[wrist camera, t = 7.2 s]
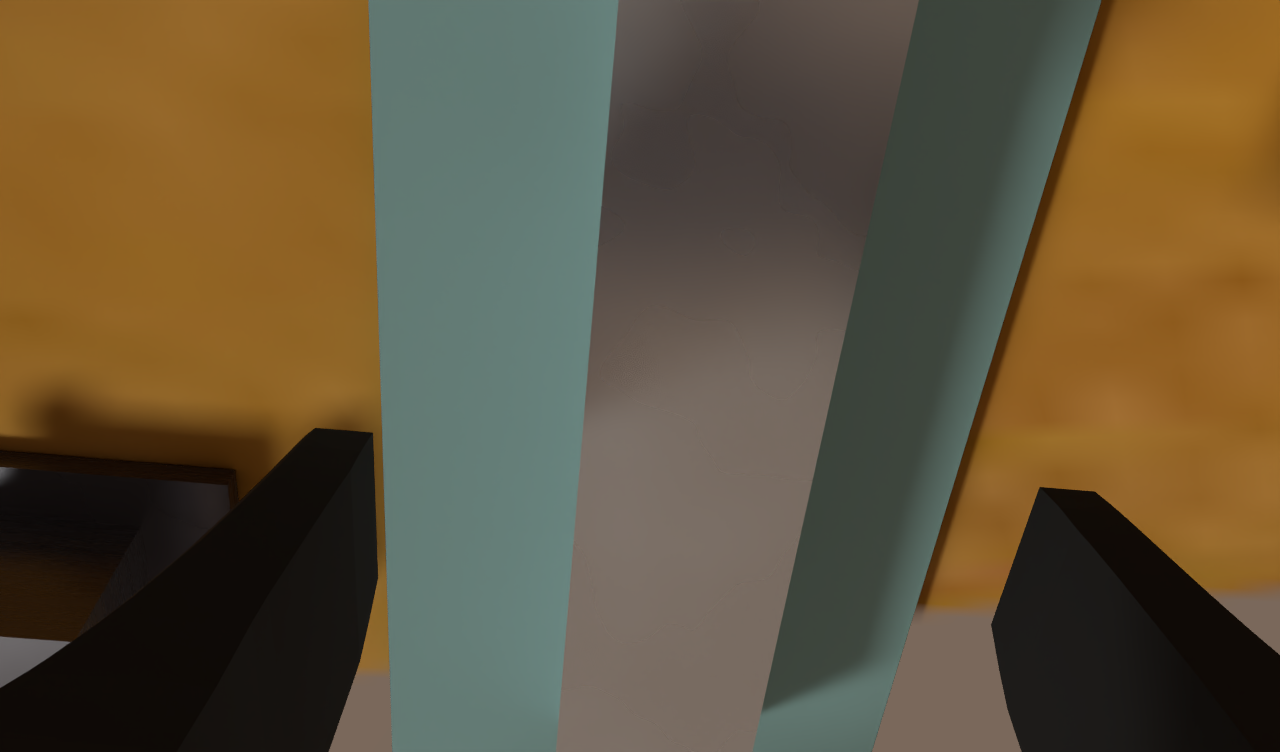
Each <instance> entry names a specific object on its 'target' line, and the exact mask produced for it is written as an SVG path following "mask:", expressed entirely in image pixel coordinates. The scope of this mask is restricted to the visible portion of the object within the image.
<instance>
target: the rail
mask: <svg viewBox="0 0 1280 752" xmlns="http://www.w3.org/2000/svg"><path fill="white" fill-rule="evenodd" d="M918 2H919V0H619V1H618V13H617V25H616V37H615V49H614V61H613V73H612V85H611V97H610V109H609V121H608V133H607V145H606V157H605V169H604V181H603V193H602V205H601V217H600V229H599V241H598V253H597V265H596V277H595V289H594V301H593V313H592V325H591V337H590V349H589V361H588V373H587V385H586V397H585V409H584V421H583V433H582V445H581V457H580V469H579V481H578V493H577V505H576V517H575V529H574V541H573V553H572V565H571V577H570V589H569V601H568V613H567V625H566V637H565V649H564V661H563V673H562V685H561V697H560V709H559V721H558V733H557V745H556V752H752V751H753V747H754V742H755V738H756V733H757V729H758V724H759V720H760V715H761V711H762V706H763V702H764V697H765V693H766V688H767V684H768V679H769V675H770V670H771V666H772V661H773V657H774V652H775V647H776V643H777V638H778V634H779V629H780V625H781V620H782V616H783V611H784V607H785V602H786V598H787V593H788V589H789V584H790V580H791V575H792V571H793V566H794V562H795V557H796V553H797V548H798V544H799V539H800V535H801V530H802V526H803V521H804V517H805V512H806V508H807V503H808V499H809V494H810V490H811V485H812V481H813V476H814V471H815V467H816V462H817V458H818V453H819V449H820V444H821V440H822V435H823V431H824V426H825V422H826V417H827V413H828V408H829V404H830V399H831V395H832V390H833V386H834V381H835V377H836V372H837V368H838V363H839V359H840V354H841V350H842V345H843V341H844V336H845V332H846V327H847V323H848V318H849V314H850V309H851V305H852V300H853V295H854V291H855V286H856V282H857V277H858V273H859V268H860V264H861V259H862V255H863V250H864V246H865V241H866V237H867V232H868V228H869V223H870V219H871V214H872V210H873V205H874V201H875V196H876V192H877V187H878V183H879V178H880V174H881V169H882V165H883V160H884V156H885V151H886V147H887V142H888V138H889V133H890V129H891V124H892V119H893V115H894V110H895V106H896V101H897V97H898V92H899V88H900V83H901V79H902V74H903V70H904V65H905V61H906V56H907V52H908V47H909V43H910V38H911V34H912V29H913V25H914V20H915V16H916V11H917V7H918Z"/></svg>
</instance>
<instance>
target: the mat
mask: <svg viewBox="0 0 1280 752" xmlns="http://www.w3.org/2000/svg"><path fill="white" fill-rule="evenodd" d="M618 1H619V0H369V30H370V62H371V93H372V125H373V156H374V188H375V219H376V251H377V282H378V314H379V345H380V377H381V408H382V440H383V471H384V503H385V534H386V566H387V597H388V629H389V660H390V691H391V722H392V752H556V745H557V733H558V721H559V709H560V697H561V685H562V673H563V661H564V649H565V637H566V625H567V613H568V601H569V589H570V577H571V565H572V553H573V541H574V529H575V517H576V505H577V493H578V481H579V469H580V457H581V445H582V433H583V421H584V409H585V397H586V385H587V373H588V361H589V349H590V337H591V325H592V313H593V301H594V289H595V277H596V265H597V253H598V241H599V229H600V217H601V205H602V193H603V181H604V169H605V157H606V145H607V133H608V121H609V109H610V97H611V85H612V73H613V61H614V49H615V37H616V25H617V13H618ZM1100 4H1101V0H919V2H918V7H917V11H916V16H915V20H914V25H913V29H912V34H911V38H910V43H909V47H908V52H907V56H906V61H905V65H904V70H903V74H902V79H901V83H900V88H899V92H898V97H897V101H896V106H895V110H894V115H893V119H892V124H891V129H890V133H889V138H888V142H887V147H886V151H885V156H884V160H883V165H882V169H881V174H880V178H879V183H878V187H877V192H876V196H875V201H874V205H873V210H872V214H871V219H870V223H869V228H868V232H867V237H866V241H865V246H864V250H863V255H862V259H861V264H860V268H859V273H858V277H857V282H856V286H855V291H854V295H853V300H852V305H851V309H850V314H849V318H848V323H847V327H846V332H845V336H844V341H843V345H842V350H841V354H840V359H839V363H838V368H837V372H836V377H835V381H834V386H833V390H832V395H831V399H830V404H829V408H828V413H827V417H826V422H825V426H824V431H823V435H822V440H821V444H820V449H819V453H818V458H817V462H816V467H815V471H814V476H813V481H812V485H811V490H810V494H809V499H808V503H807V508H806V512H805V517H804V521H803V526H802V530H801V535H800V539H799V544H798V548H797V553H796V557H795V562H794V566H793V571H792V575H791V580H790V584H789V589H788V593H787V598H786V602H785V607H784V611H783V616H782V620H781V625H780V629H779V634H778V638H777V643H776V647H775V652H774V657H773V661H772V666H771V670H770V675H769V679H768V684H767V688H766V693H765V697H764V702H763V706H762V711H761V715H760V720H759V724H758V729H757V733H756V738H755V742H754V747H753V751H752V752H872V749H873V746H874V743H875V740H876V736H877V733H878V730H879V726H880V723H881V720H882V717H883V713H884V710H885V706H886V703H887V700H888V697H889V694H890V690H891V687H892V684H893V681H894V677H895V674H896V671H897V667H898V664H899V661H900V658H901V655H902V651H903V648H904V645H905V641H906V638H907V635H908V631H909V628H910V625H911V622H912V619H913V615H914V612H915V609H916V605H917V602H918V599H919V596H920V592H921V589H922V586H923V583H924V579H925V576H926V573H927V570H928V566H929V563H930V560H931V556H932V553H933V550H934V547H935V543H936V540H937V537H938V534H939V530H940V527H941V524H942V520H943V517H944V514H945V511H946V507H947V504H948V501H949V498H950V494H951V491H952V488H953V484H954V481H955V478H956V475H957V471H958V468H959V465H960V462H961V458H962V455H963V452H964V449H965V445H966V442H967V439H968V435H969V432H970V429H971V426H972V422H973V419H974V416H975V413H976V409H977V406H978V403H979V399H980V396H981V393H982V390H983V386H984V383H985V380H986V377H987V373H988V370H989V367H990V363H991V360H992V357H993V354H994V350H995V347H996V344H997V341H998V337H999V334H1000V331H1001V327H1002V324H1003V321H1004V318H1005V314H1006V311H1007V308H1008V305H1009V301H1010V298H1011V295H1012V292H1013V288H1014V285H1015V282H1016V278H1017V275H1018V272H1019V269H1020V265H1021V262H1022V259H1023V256H1024V252H1025V249H1026V246H1027V242H1028V239H1029V236H1030V233H1031V229H1032V226H1033V223H1034V220H1035V216H1036V213H1037V210H1038V206H1039V203H1040V200H1041V197H1042V193H1043V190H1044V187H1045V184H1046V180H1047V177H1048V174H1049V171H1050V167H1051V164H1052V161H1053V157H1054V154H1055V151H1056V148H1057V144H1058V141H1059V138H1060V135H1061V131H1062V128H1063V125H1064V121H1065V118H1066V115H1067V112H1068V108H1069V105H1070V102H1071V99H1072V95H1073V92H1074V89H1075V85H1076V82H1077V79H1078V76H1079V72H1080V69H1081V66H1082V63H1083V59H1084V56H1085V53H1086V49H1087V46H1088V43H1089V40H1090V36H1091V33H1092V30H1093V27H1094V23H1095V20H1096V17H1097V14H1098V10H1099V7H1100Z"/></svg>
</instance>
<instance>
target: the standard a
mask: <svg viewBox="0 0 1280 752" xmlns="http://www.w3.org/2000/svg"><path fill="white" fill-rule="evenodd" d="M238 502H239V500H238V492H237V483H236V475H235V470H227V469H215V468H203V467H191V466H178V465H166V464H154V463H141V462H129V461H117V460H105V459H92V458H80V457H68V456H56V455H43V454H31V453H19V452H7V451H0V688H1V687H2V686H4V685H6V684H7V683H9V682H11V681H12V680H14V679H16V678H17V677H19V676H21V675H22V674H24V673H26V672H27V671H29V670H30V669H32V668H33V667H35V666H37V665H38V664H40V663H41V662H43V661H44V660H46V659H47V658H49V657H50V656H51V655H53V654H54V653H56V652H57V651H59V650H60V649H61V648H63V647H64V646H66V645H67V644H69V643H70V642H72V641H73V640H74V639H76V638H77V637H79V636H80V635H81V634H83V633H84V632H86V631H87V630H88V629H90V628H91V627H92V626H94V625H95V624H96V623H98V622H99V621H100V620H102V619H103V618H104V617H106V616H107V615H108V614H110V613H111V612H112V611H114V610H115V609H116V608H117V607H119V606H120V605H121V604H123V603H124V602H125V601H126V600H128V599H129V598H130V597H131V596H132V595H134V594H135V593H136V592H137V591H138V590H140V589H141V588H142V587H143V586H145V585H146V584H147V583H148V582H149V581H151V580H152V579H153V578H154V577H155V576H157V575H158V574H159V573H160V572H161V571H163V570H164V569H165V568H166V567H167V566H169V565H170V564H171V563H172V562H173V561H175V560H176V559H177V558H178V557H179V556H181V555H182V554H183V553H184V552H185V551H186V550H187V549H189V548H190V547H191V546H192V545H193V544H194V543H195V542H196V541H197V540H199V539H200V538H201V537H202V536H203V535H204V534H205V533H206V532H207V531H208V530H209V529H210V528H212V527H213V526H214V525H215V524H216V523H217V522H218V521H219V520H220V519H221V518H222V517H223V516H224V515H226V514H227V513H228V512H229V511H230V510H231V509H232V508H233V507H234V506H235V505H236V504H237V503H238Z"/></svg>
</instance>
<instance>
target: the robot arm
mask: <svg viewBox="0 0 1280 752" xmlns="http://www.w3.org/2000/svg"><path fill="white" fill-rule="evenodd" d="M377 580H378V564H377V536H376V508H375V479H374V451H373V433H370V432H358V431H346V430H333V429H321V428H315V429H313V430H312V431H311V432H309V433H308V434H307V435H306V436H305V437H304V438H303V439H302V440H301V441H300V442H299V443H298V444H297V445H296V446H295V447H294V448H293V449H292V450H291V451H290V452H289V453H288V454H287V455H286V456H285V457H284V458H283V459H282V460H281V461H280V462H279V463H278V464H277V465H276V466H275V467H274V468H273V469H272V470H271V471H270V472H269V473H268V474H267V475H266V476H265V477H264V478H263V479H262V480H261V481H260V482H259V483H258V484H257V485H256V486H255V487H254V488H253V489H252V490H251V491H250V492H249V493H248V494H247V495H246V496H245V497H244V498H243V499H242V500H240V501H239V502H238V503H237V504H236V505H235V506H234V507H233V508H232V509H231V510H230V511H229V512H228V513H227V514H226V515H224V516H223V517H222V518H221V519H220V520H219V521H218V522H217V523H216V524H215V525H214V526H213V527H212V528H210V529H209V530H208V531H207V532H206V533H205V534H204V535H203V536H202V537H201V538H200V539H199V540H197V541H196V542H195V543H194V544H193V545H192V546H191V547H190V548H189V549H187V550H186V551H185V552H184V553H183V554H182V555H181V556H179V557H178V558H177V559H176V560H175V561H173V562H172V563H171V564H170V565H169V566H167V567H166V568H165V569H164V570H163V571H161V572H160V573H159V574H158V575H157V576H155V577H154V578H153V579H152V580H151V581H149V582H148V583H147V584H146V585H145V586H143V587H142V588H141V589H140V590H138V591H137V592H136V593H135V594H134V595H132V596H131V597H130V598H129V599H128V600H126V601H125V602H124V603H123V604H121V605H120V606H119V607H117V608H116V609H115V610H114V611H112V612H111V613H110V614H108V615H107V616H106V617H104V618H103V619H102V620H100V621H99V622H98V623H96V624H95V625H94V626H92V627H91V628H90V629H88V630H87V631H86V632H84V633H83V634H81V635H80V636H79V637H77V638H76V639H74V640H73V641H72V642H70V643H69V644H67V645H66V646H64V647H63V648H61V649H60V650H59V651H57V652H56V653H54V654H53V655H51V656H50V657H49V658H47V659H46V660H44V661H43V662H41V663H40V664H38V665H37V666H35V667H33V668H32V669H30V670H29V671H27V672H26V673H24V674H22V675H21V676H19V677H17V678H16V679H14V680H12V681H11V682H9V683H7V684H6V685H4V686H2V687H1V688H0V752H328V751H329V749H330V746H331V743H332V740H333V738H334V735H335V732H336V729H337V726H338V723H339V720H340V717H341V715H342V712H343V709H344V706H345V703H346V700H347V697H348V695H349V692H350V689H351V686H352V683H353V680H354V677H355V674H356V671H357V668H358V665H359V662H360V659H361V654H362V650H363V645H364V641H365V636H366V632H367V628H368V623H369V618H370V614H371V609H372V604H373V599H374V594H375V590H376V585H377ZM991 626H992V632H993V637H994V642H995V648H996V654H997V659H998V665H999V671H1000V675H1001V680H1002V685H1003V689H1004V694H1005V699H1006V704H1007V708H1008V711H1009V715H1010V718H1011V721H1012V724H1013V727H1014V730H1015V733H1016V736H1017V739H1018V742H1019V745H1020V748H1021V750H1022V752H1280V655H1279V654H1278V653H1277V652H1275V651H1274V650H1273V649H1272V648H1271V647H1270V646H1268V645H1267V644H1266V643H1265V642H1264V641H1263V640H1261V639H1260V638H1259V637H1258V636H1257V635H1256V634H1254V633H1253V632H1252V631H1251V630H1250V629H1249V628H1247V627H1246V626H1245V625H1244V624H1243V623H1242V622H1240V621H1239V620H1238V619H1237V618H1236V617H1235V616H1234V615H1232V614H1231V613H1230V612H1229V611H1228V610H1227V609H1226V608H1225V607H1224V606H1222V605H1221V604H1220V603H1219V602H1218V601H1217V600H1216V599H1215V598H1213V597H1212V596H1211V595H1210V594H1209V593H1208V592H1207V591H1206V590H1205V589H1203V588H1202V587H1201V586H1200V585H1199V584H1198V583H1197V582H1196V581H1195V580H1194V579H1192V578H1191V577H1190V576H1189V575H1188V574H1187V573H1186V572H1185V571H1184V570H1183V569H1181V568H1180V567H1179V566H1178V565H1177V564H1176V563H1175V562H1174V561H1173V560H1172V559H1171V558H1169V557H1168V556H1167V555H1166V554H1165V553H1164V552H1163V551H1162V550H1161V549H1160V548H1159V547H1157V546H1156V545H1155V544H1154V543H1153V542H1152V541H1151V540H1150V539H1149V538H1148V537H1147V536H1145V535H1144V534H1143V533H1142V532H1141V531H1140V530H1139V529H1138V528H1137V527H1136V526H1134V525H1133V524H1132V523H1131V522H1130V521H1129V520H1128V519H1127V518H1126V517H1124V516H1123V515H1122V514H1121V513H1120V512H1119V511H1118V510H1116V509H1115V508H1114V507H1113V506H1112V505H1111V504H1109V503H1108V502H1107V501H1106V500H1105V499H1103V498H1102V497H1101V496H1100V495H1098V494H1097V493H1096V492H1093V491H1080V490H1068V489H1056V488H1044V487H1040V488H1039V491H1038V493H1037V496H1036V499H1035V502H1034V505H1033V508H1032V510H1031V513H1030V516H1029V519H1028V522H1027V525H1026V527H1025V530H1024V533H1023V536H1022V539H1021V542H1020V544H1019V547H1018V550H1017V553H1016V556H1015V559H1014V561H1013V564H1012V567H1011V570H1010V573H1009V576H1008V578H1007V581H1006V584H1005V587H1004V590H1003V593H1002V595H1001V598H1000V601H999V604H998V607H997V610H996V612H995V615H994V618H993V621H992V624H991Z"/></svg>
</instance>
